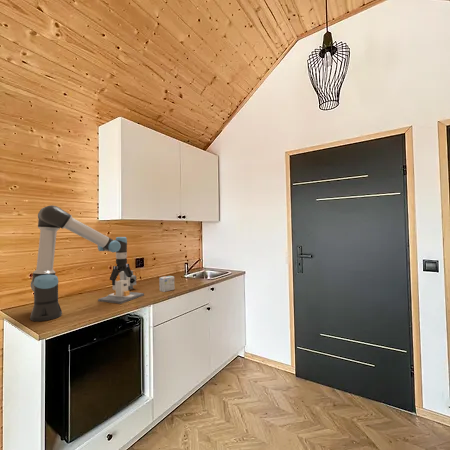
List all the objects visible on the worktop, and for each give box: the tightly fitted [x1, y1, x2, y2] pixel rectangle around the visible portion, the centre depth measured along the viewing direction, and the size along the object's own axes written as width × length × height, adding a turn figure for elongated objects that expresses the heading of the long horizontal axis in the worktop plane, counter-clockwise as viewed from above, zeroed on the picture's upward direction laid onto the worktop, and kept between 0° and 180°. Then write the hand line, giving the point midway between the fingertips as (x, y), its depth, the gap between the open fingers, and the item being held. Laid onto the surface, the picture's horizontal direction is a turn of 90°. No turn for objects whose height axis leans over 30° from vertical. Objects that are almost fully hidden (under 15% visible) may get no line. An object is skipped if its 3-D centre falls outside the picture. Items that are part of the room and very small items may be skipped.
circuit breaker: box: [118, 270, 137, 291], centre depth 225 cm, size 8×14×15 cm, turn 53°
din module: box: [116, 279, 129, 296], centre depth 197 cm, size 7×6×10 cm
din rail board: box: [97, 290, 145, 305], centre depth 197 cm, size 24×20×5 cm
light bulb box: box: [158, 275, 175, 293], centre depth 221 cm, size 11×7×11 cm, turn 141°
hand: (121, 287), depth 197 cm, fingers open, 13 cm apart
